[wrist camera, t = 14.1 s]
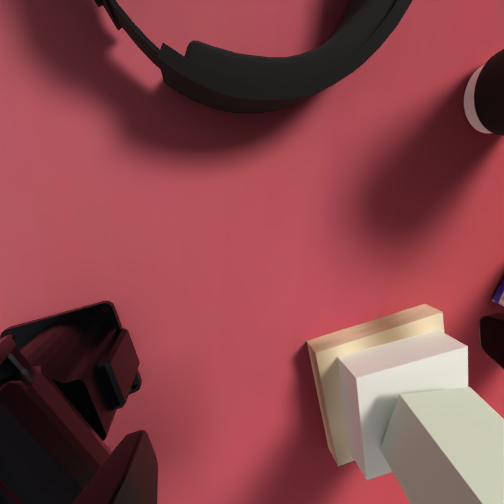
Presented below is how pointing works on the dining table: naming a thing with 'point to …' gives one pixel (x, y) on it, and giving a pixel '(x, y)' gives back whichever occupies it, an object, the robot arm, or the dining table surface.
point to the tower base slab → (355, 340)
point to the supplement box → (499, 294)
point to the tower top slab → (393, 387)
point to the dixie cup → (486, 96)
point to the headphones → (268, 61)
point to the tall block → (446, 448)
